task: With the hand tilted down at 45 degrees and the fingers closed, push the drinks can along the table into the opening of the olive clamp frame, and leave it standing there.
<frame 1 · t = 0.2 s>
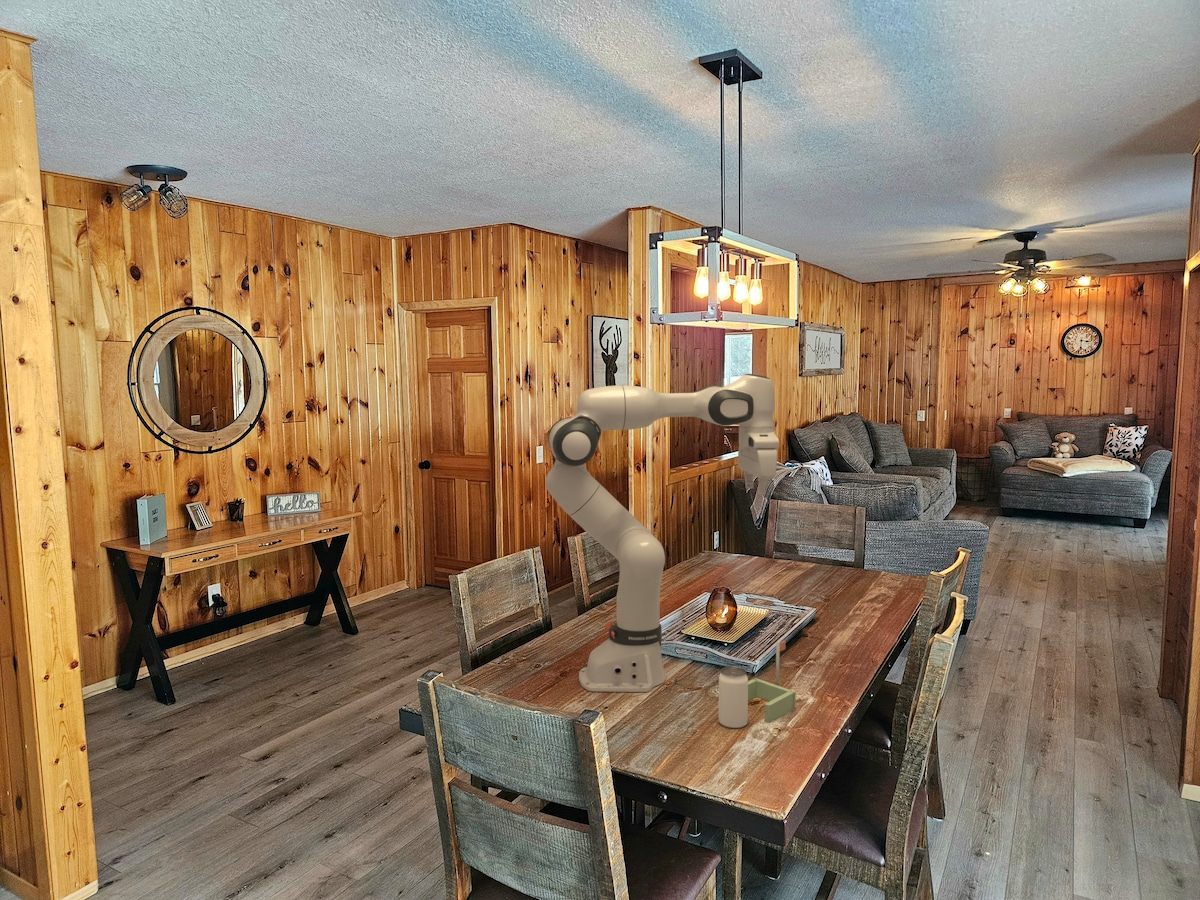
hand: (755, 491, 201), 48 cm above the table, tool pointing down, fingers open, 8 cm apart
olive clamp frame: (762, 707, 184), on the table
can: (733, 723, 176), on the table
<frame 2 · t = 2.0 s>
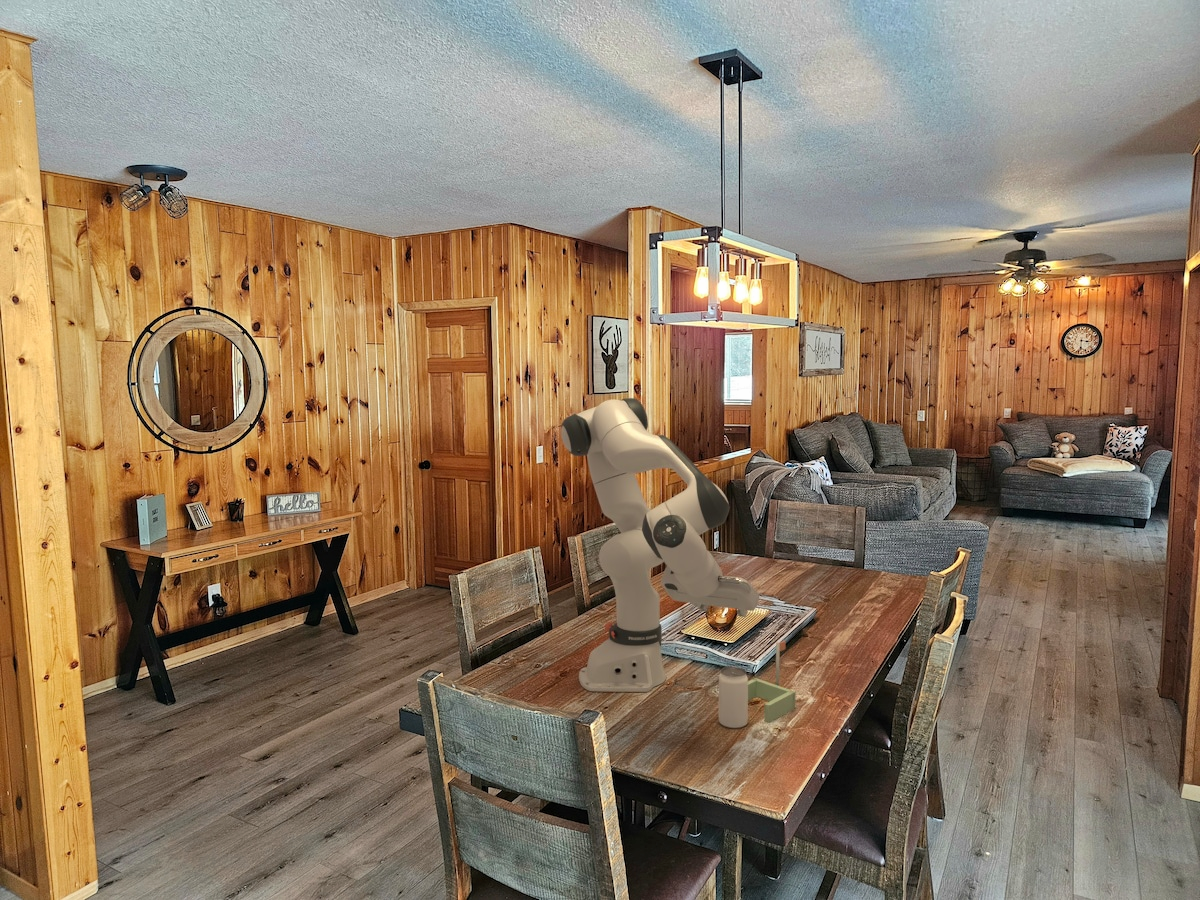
hand: (723, 611, 170), 27 cm above the table, tool tilted 45°, fingers open, 8 cm apart
nothing on the table moved.
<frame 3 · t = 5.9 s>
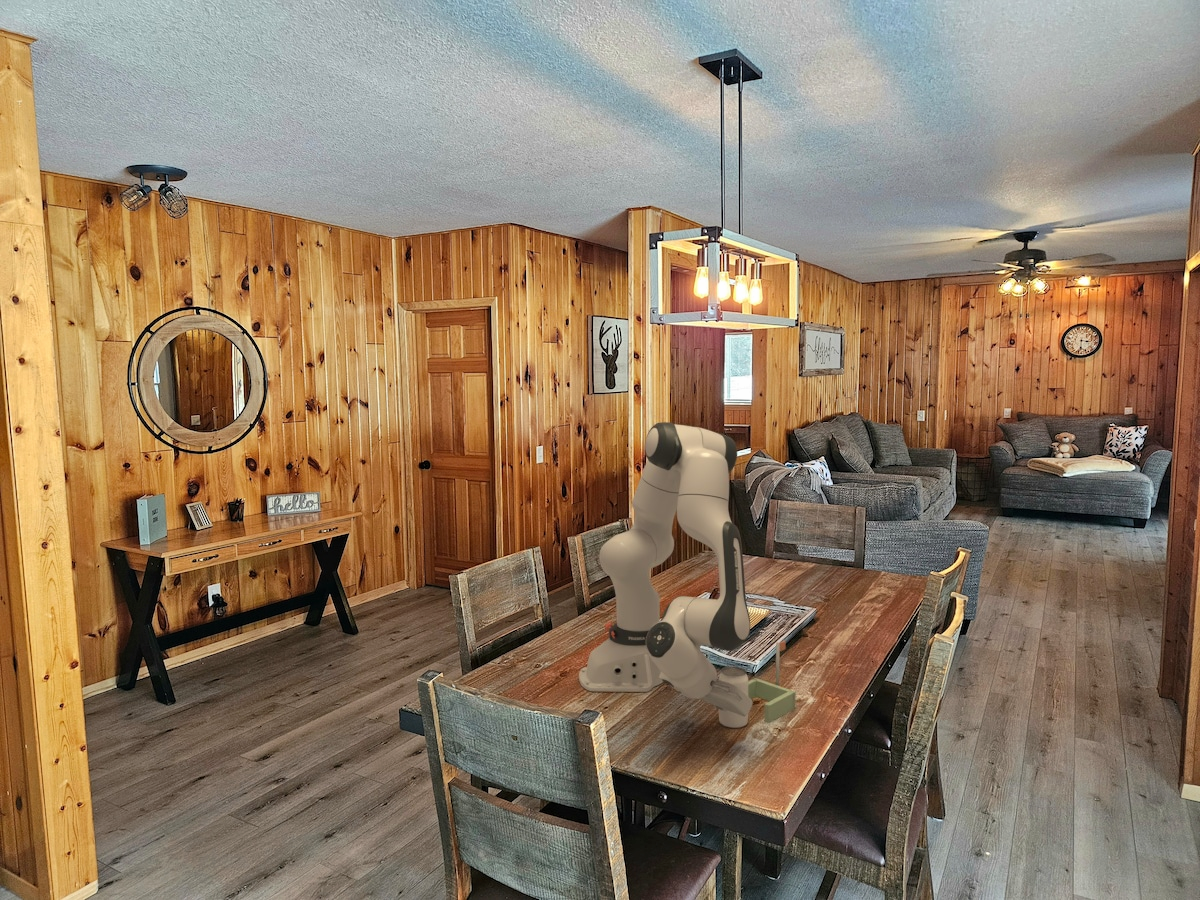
hand: (723, 706, 173), 5 cm above the table, tool tilted 45°, fingers closed
can: (733, 723, 176), on the table, touching gripper
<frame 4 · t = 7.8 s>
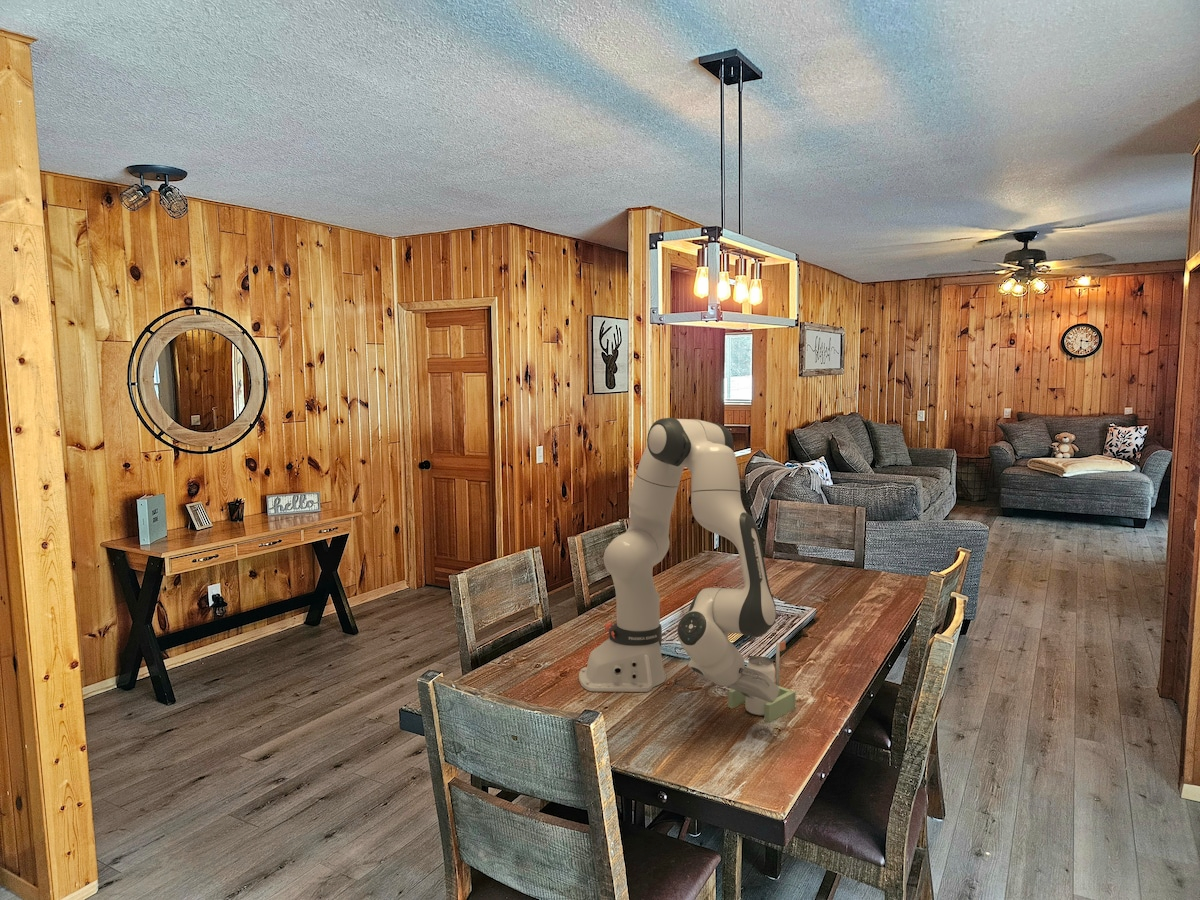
hand: (749, 694, 180), 5 cm above the table, tool tilted 45°, fingers closed, pressing on can
can: (759, 711, 182), on the table, touching gripper
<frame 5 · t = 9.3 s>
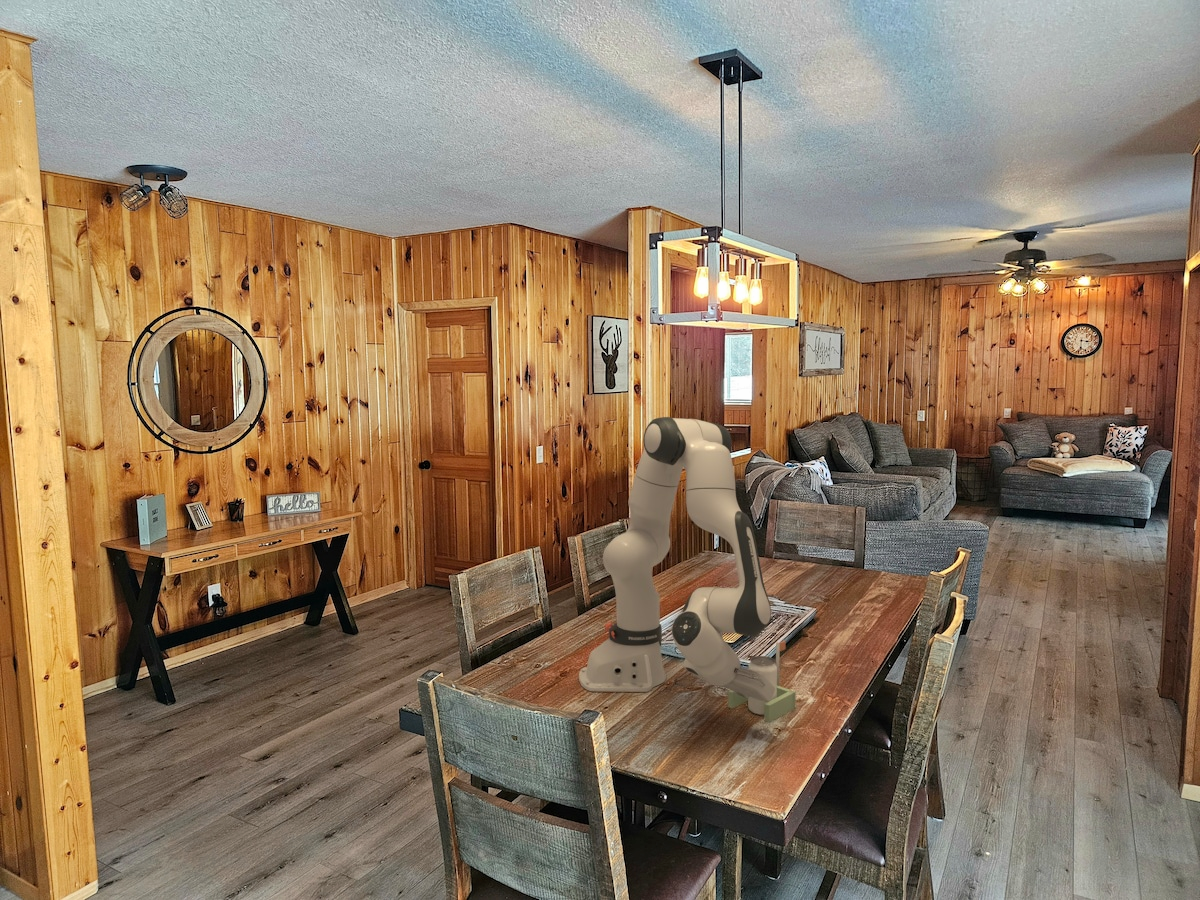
hand: (744, 693, 178), 5 cm above the table, tool tilted 45°, fingers closed
can: (762, 710, 182), on the table
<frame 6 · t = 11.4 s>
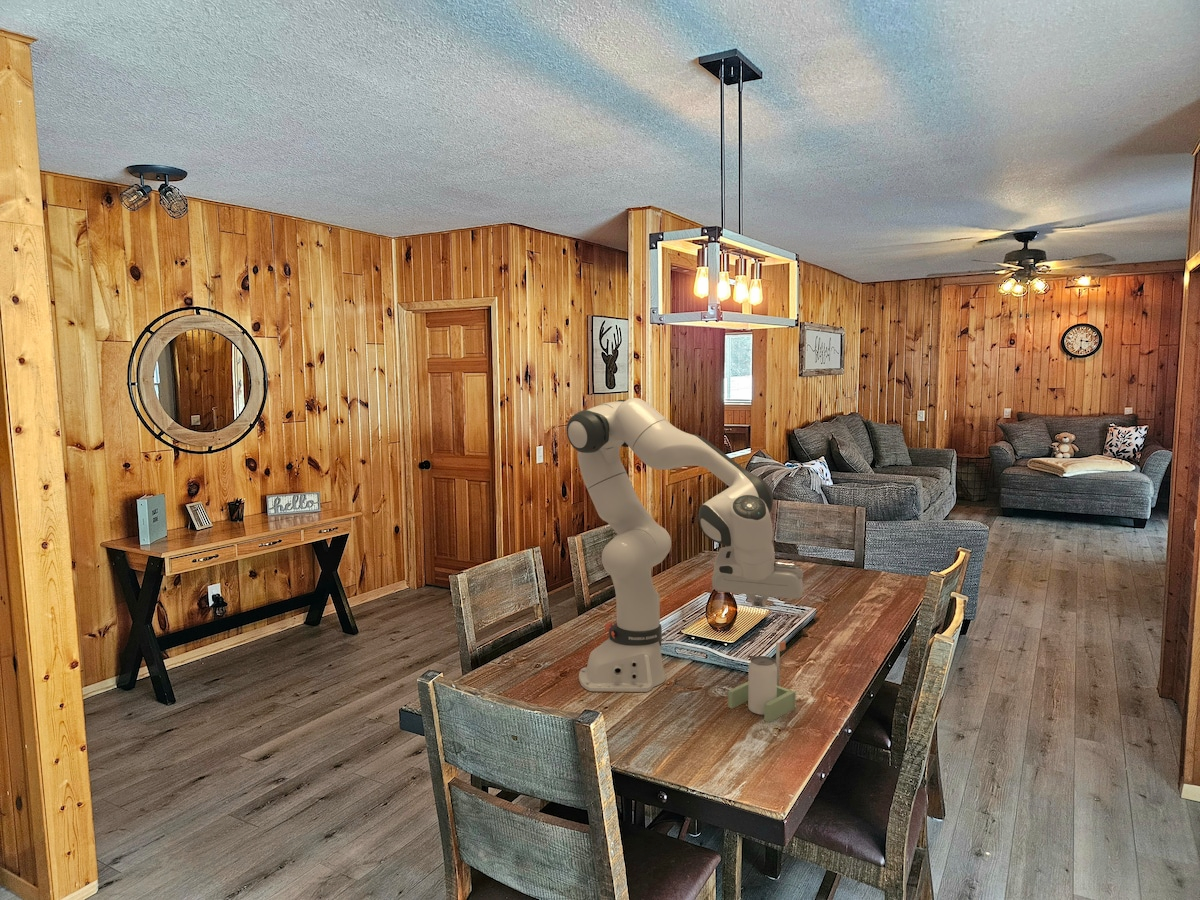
hand: (759, 604, 181), 25 cm above the table, tool tilted 30°, fingers closed
nothing on the table moved.
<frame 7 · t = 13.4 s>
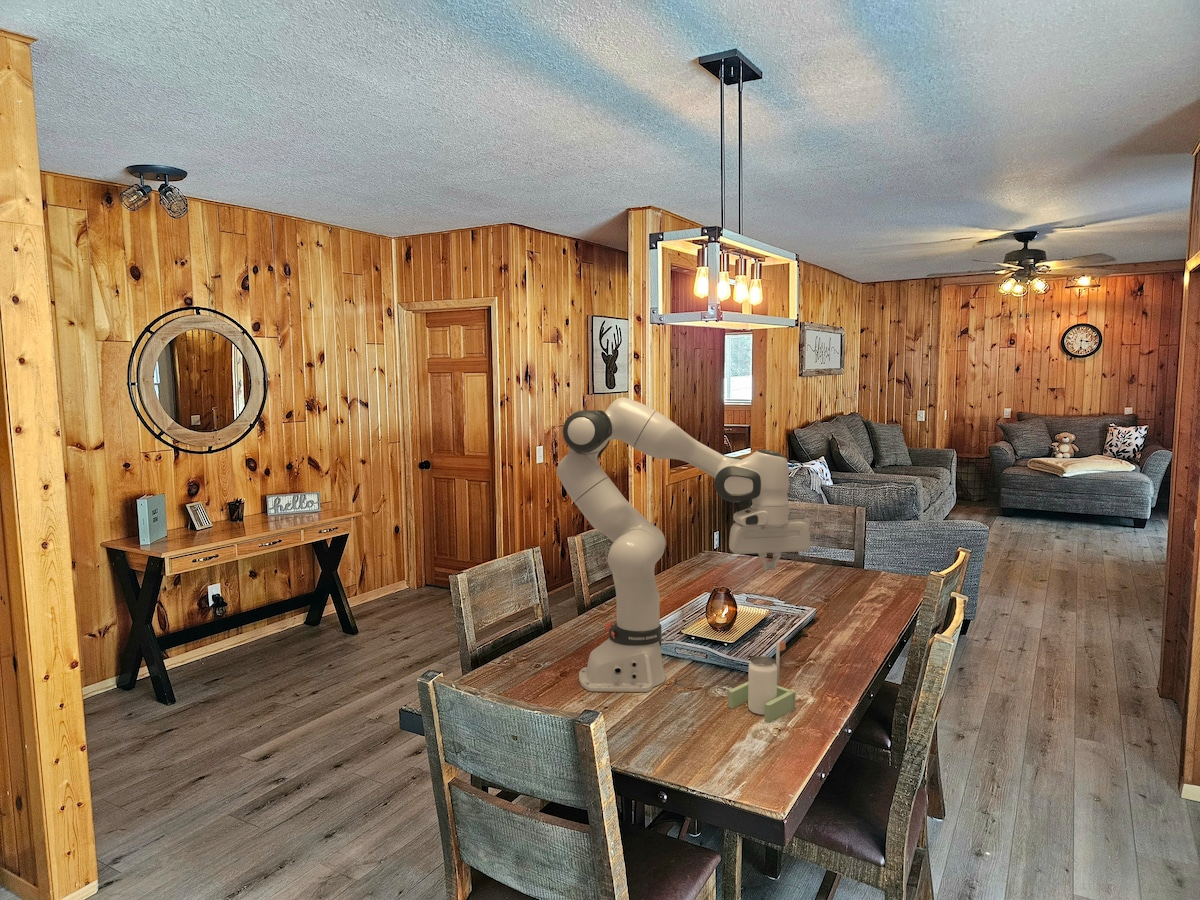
hand: (769, 569, 196), 29 cm above the table, tool pointing down, fingers closed
nothing on the table moved.
at the end: can 1.4 cm from the olive clamp frame (horizontally); can tilted 0°; the gripper is holding nothing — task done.
